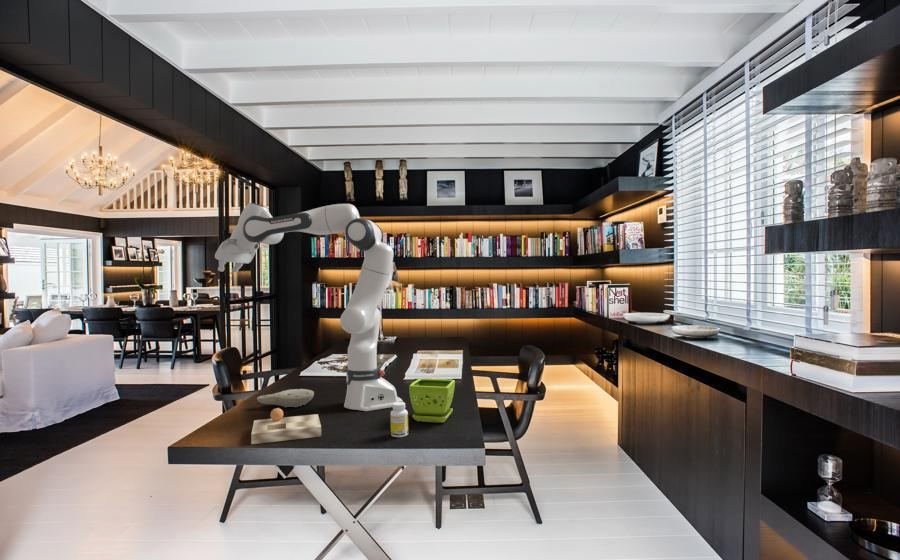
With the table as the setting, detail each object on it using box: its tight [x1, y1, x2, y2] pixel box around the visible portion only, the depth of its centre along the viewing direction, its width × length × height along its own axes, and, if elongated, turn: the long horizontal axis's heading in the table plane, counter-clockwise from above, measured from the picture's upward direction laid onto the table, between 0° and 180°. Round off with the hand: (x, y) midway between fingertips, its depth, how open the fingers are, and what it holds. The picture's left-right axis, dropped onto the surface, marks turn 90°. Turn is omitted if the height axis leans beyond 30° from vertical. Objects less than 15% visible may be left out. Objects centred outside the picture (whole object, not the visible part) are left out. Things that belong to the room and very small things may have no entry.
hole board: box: [250, 413, 322, 445], centre depth 151 cm, size 20×15×3 cm
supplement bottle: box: [390, 401, 409, 438], centre depth 148 cm, size 5×5×10 cm
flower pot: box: [408, 378, 456, 424], centre depth 165 cm, size 14×14×13 cm
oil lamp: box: [256, 388, 315, 408], centre depth 184 cm, size 21×14×5 cm
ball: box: [269, 407, 284, 421], centre depth 154 cm, size 4×4×4 cm
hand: (227, 271), depth 191 cm, fingers open, 8 cm apart
